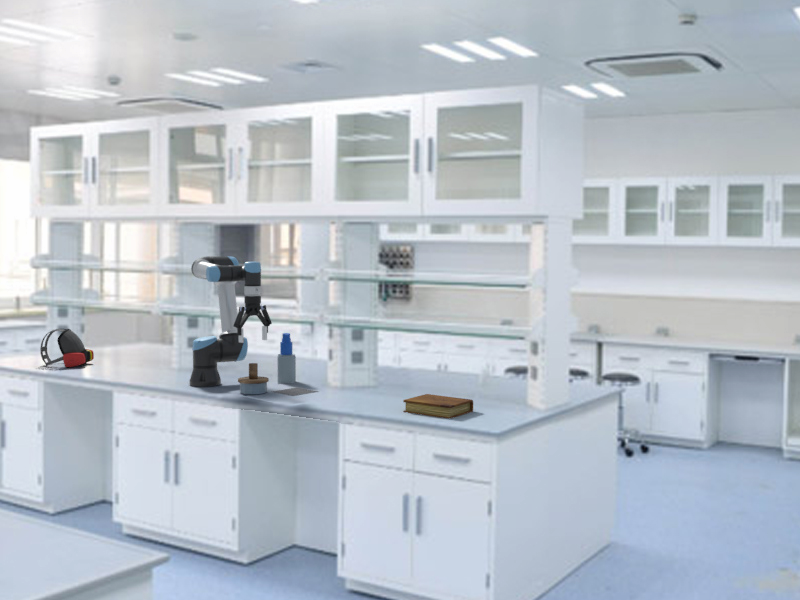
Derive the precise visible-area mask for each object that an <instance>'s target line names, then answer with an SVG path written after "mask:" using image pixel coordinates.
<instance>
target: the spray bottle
mask: <svg viewBox="0 0 800 600" xmlns="http://www.w3.org/2000/svg"><path fill="white" fill-rule="evenodd" d="M279 347H280V352H279V354H277V385H282V384H293V383H296V382H297V381H296V375H297V374H296V373H297V372H296V371H297V370H296V367H297V365H296V361H297V360H296V359H297V358H296V354H295V353H293V341H292V340H291V333H290V332H289V333H288V332H284V333H282V338H281V342H280V345H279Z"/></svg>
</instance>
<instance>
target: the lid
mask: <svg viewBox="0 0 800 600" xmlns="http://www.w3.org/2000/svg"><path fill="white" fill-rule="evenodd" d="M258 369H259V368H258V363H257V362H251V363H248V376H243V377H239V378H237V382H238V383H239V384H240V383H244V384H259V383H266V382H267V383H269V380H270V379H269V377H267V376H260V375H258V373H259V372H258V371H259V370H258Z"/></svg>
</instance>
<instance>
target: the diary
mask: <svg viewBox="0 0 800 600" xmlns="http://www.w3.org/2000/svg"><path fill="white" fill-rule="evenodd" d="M403 403H405V410H403V411H402V412H403V413H406V412H408V413H407V414H413V413H415V414H416V415H420V414H422V416H429V417H435V418H436V417H437V418H442V417H443V418H442V419H449V418H451V419H453V417H454V418H456V417H457V418H458V417H459V416H460V417H461V416H463V415H467V414H469V413H473V412H474V399H471V398H469V399H468V398H461V397H453V396H446V395H437V394H430V393H426V394H425V393H424V394H421V395H418V396H414V397H409V398H405V399H403Z"/></svg>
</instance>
